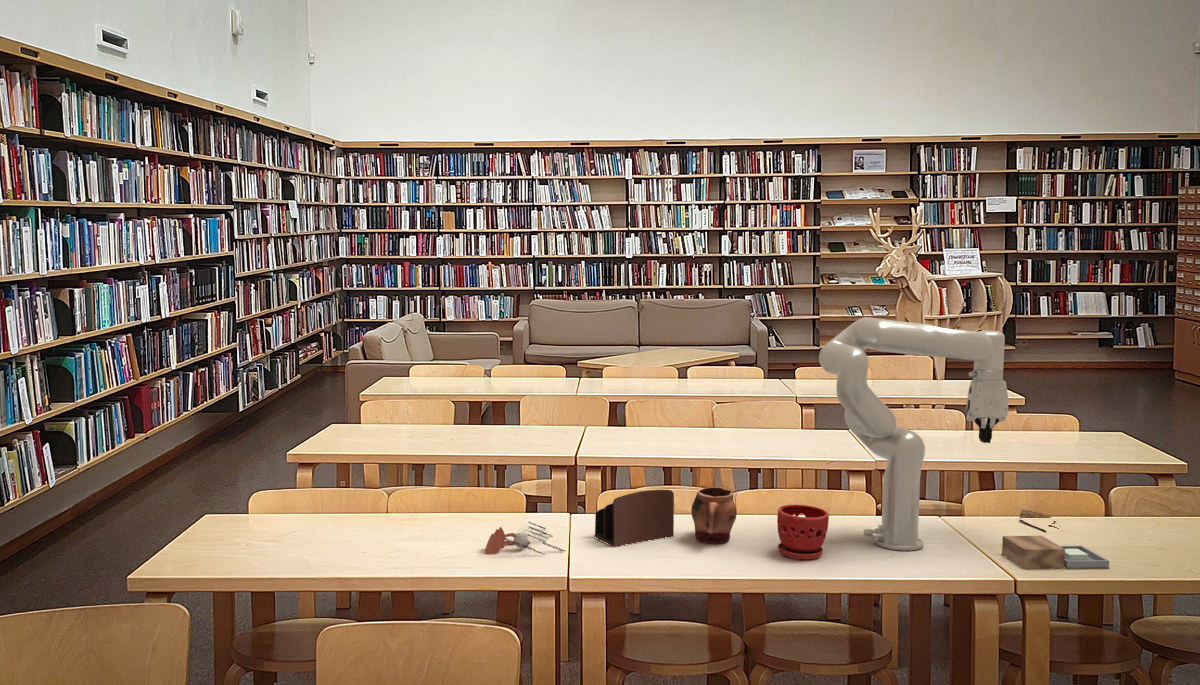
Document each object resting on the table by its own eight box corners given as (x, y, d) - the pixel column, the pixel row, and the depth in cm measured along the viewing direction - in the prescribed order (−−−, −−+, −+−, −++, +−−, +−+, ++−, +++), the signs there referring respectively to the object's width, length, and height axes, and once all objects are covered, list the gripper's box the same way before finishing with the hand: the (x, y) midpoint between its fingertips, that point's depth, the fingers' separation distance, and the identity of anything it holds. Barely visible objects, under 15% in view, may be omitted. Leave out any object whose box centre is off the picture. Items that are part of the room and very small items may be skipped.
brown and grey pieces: (498, 530, 262) (495, 501, 286) (485, 561, 263) (482, 529, 287) (571, 558, 266) (562, 527, 290) (558, 588, 266) (549, 555, 291)
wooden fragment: (1068, 535, 290) (1068, 531, 290) (1027, 532, 292) (1027, 529, 292) (1046, 511, 315) (1046, 508, 315) (1008, 510, 317) (1008, 506, 317)
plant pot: (787, 564, 260) (788, 517, 259) (769, 548, 273) (770, 504, 272) (835, 561, 263) (837, 515, 262) (815, 546, 276) (816, 502, 275)
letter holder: (674, 537, 283) (675, 487, 282) (613, 548, 273) (614, 496, 272) (653, 528, 292) (654, 480, 290) (594, 538, 281) (594, 488, 280)
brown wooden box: (1023, 569, 258) (1024, 549, 258) (1001, 554, 270) (1002, 536, 270) (1064, 568, 259) (1065, 549, 258) (1040, 554, 271) (1041, 535, 270)
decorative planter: (737, 553, 269) (738, 501, 268) (690, 551, 270) (691, 499, 269) (734, 531, 289) (735, 483, 288) (690, 530, 290) (691, 481, 289)
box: (1066, 569, 258) (1067, 561, 258) (1041, 553, 271) (1041, 546, 271) (1108, 568, 259) (1109, 560, 259) (1081, 553, 272) (1081, 545, 272)
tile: (1088, 554, 263) (1087, 562, 263) (1077, 548, 267) (1076, 556, 268) (1069, 554, 262) (1069, 562, 262) (1059, 548, 267) (1058, 556, 267)
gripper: (967, 377, 276) (964, 444, 278) (1021, 377, 277) (1017, 444, 279) (955, 374, 284) (952, 439, 285) (1008, 374, 285) (1005, 439, 287)
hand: (985, 441), depth 282 cm, fingers closed
